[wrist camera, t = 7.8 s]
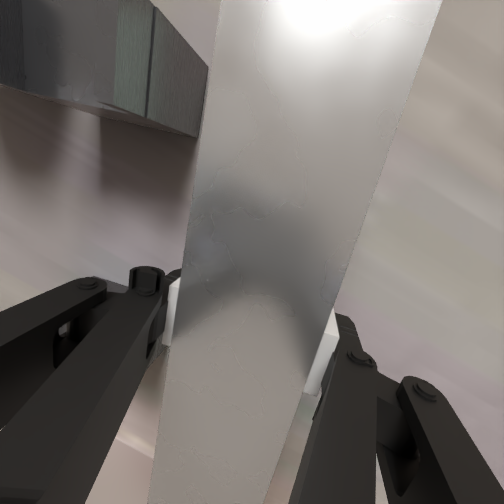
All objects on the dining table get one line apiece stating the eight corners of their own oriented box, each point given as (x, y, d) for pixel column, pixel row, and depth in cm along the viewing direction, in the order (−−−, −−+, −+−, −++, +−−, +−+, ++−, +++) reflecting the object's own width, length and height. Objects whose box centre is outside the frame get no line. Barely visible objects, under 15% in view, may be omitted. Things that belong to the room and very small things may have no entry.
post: (99, 116, 22) (-45, 71, 13) (101, 47, 20) (-60, -58, 11) (197, 138, 21) (115, 105, 12) (208, 66, 19) (122, -34, 10)
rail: (249, 494, 18) (227, 613, 13) (180, 466, 19) (134, 569, 14) (428, -57, 9) (575, -343, 4) (284, -72, 10) (260, -332, 5)
